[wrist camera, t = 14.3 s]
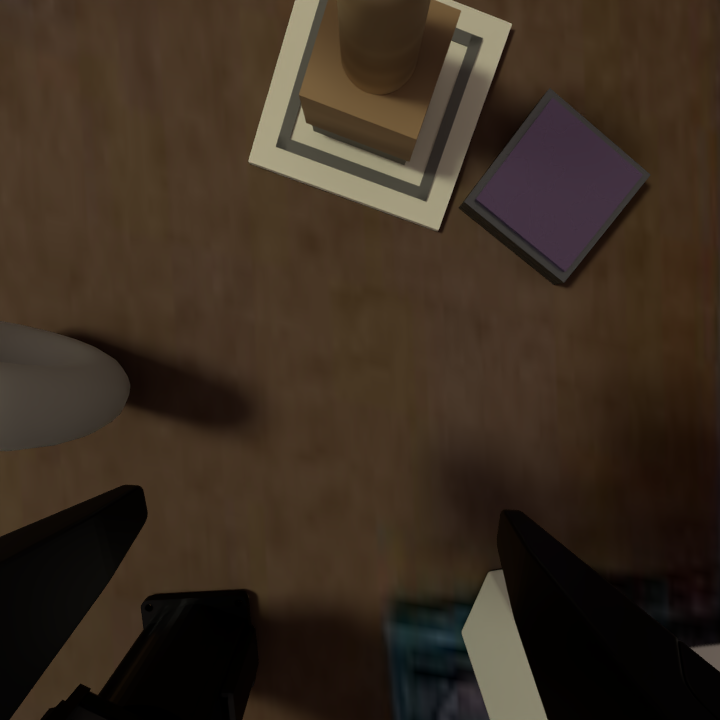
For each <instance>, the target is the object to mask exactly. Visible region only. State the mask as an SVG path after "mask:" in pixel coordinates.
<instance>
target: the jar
mask: <svg viewBox="0 0 720 720" xmlns="http://www.w3.org/2000/svg"><path fill="white" fill-rule="evenodd" d="M462 637H463V640H464V643H465V646H466V649H467V652H468V655H469V658H470V661H471V664H472V667H473V670H474V673H475V676H476V679H477V682H478V685H479V688H480V691H481V694H482V697H483V700H484V703H485V706H486V709H487V712H488V715H489V718H490V720H548V719H547V716H546V714H545V711H544V708H543V705H542V702H541V699H540V696H539V693H538V690H537V687H536V684H535V681H534V678H533V675H532V672H531V669H530V666H529V663H528V660H527V657H526V654H525V651H524V648H523V645H522V642H521V639H520V636H519V633H518V630H517V627H516V624H515V620H514V617H513V613H512V609H511V605H510V600H509V596H508V592H507V587H506V583H505V578H504V574H503V570H502V569H501V570H495V571H490V572H488V574H487V576H486V578H485V580H484V583H483V585H482V587H481V590H480V592H479V594H478V596H477V598H476V601H475V603H474V605H473V607H472V610H471V612H470V614H469V616H468V618H467V621H466V623H465V625H464V627H463V629H462Z"/></svg>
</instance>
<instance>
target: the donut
mask: <svg viewBox="0 0 720 720" xmlns="http://www.w3.org/2000/svg"><path fill="white" fill-rule="evenodd" d="M129 393H130V382H129V379H128V376H127V374H126V373H125V371H124V370H123V368H122V367H121V365H120V364H119V363H118V362H117V360H115V359H114V358H112V357H111V356H109V355H107V354H106V353H104V352H103V351H101V350H99V349H98V348H96V347H94V346H91V345H89V344H87V343H84V342H82V341H79V340H77V339H73V338H70V337H67V336H64V335H60V334H57V333H54V332H50V331H46V330H42V329H37V328H33V327H29V326H25V325H19V324H14V323H8V322H3V321H0V451H13V450H21V449H29V448H37V447H45V446H53V445H57V444H60V443H64V442H68V441H71V440H75V439H78V438H82V437H85V436H87V435H89V434H91V433H93V432H95V431H97V430H99V429H100V428H102V427H104V426H105V425H107V424H109V423H110V422H112V421H113V420H114V419H115V418H116V417H117V416H118V415H120V413H121V411H122V409H123V408H124V406H125V403H126V401H127V399H128V396H129Z"/></svg>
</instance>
